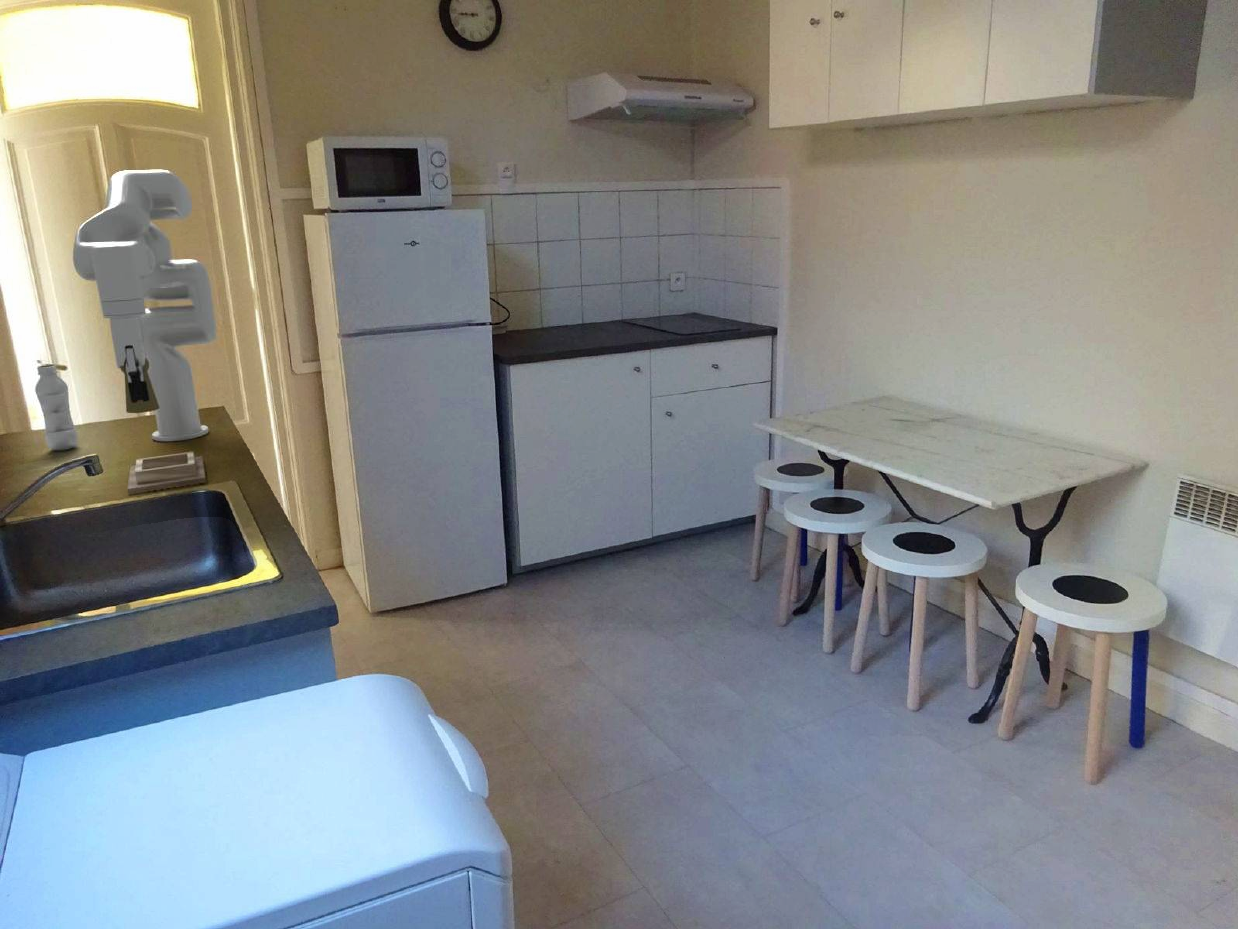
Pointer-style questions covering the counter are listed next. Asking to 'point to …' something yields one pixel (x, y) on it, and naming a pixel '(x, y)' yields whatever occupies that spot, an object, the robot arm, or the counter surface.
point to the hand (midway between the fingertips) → (141, 398)
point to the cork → (140, 404)
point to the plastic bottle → (55, 409)
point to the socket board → (165, 472)
